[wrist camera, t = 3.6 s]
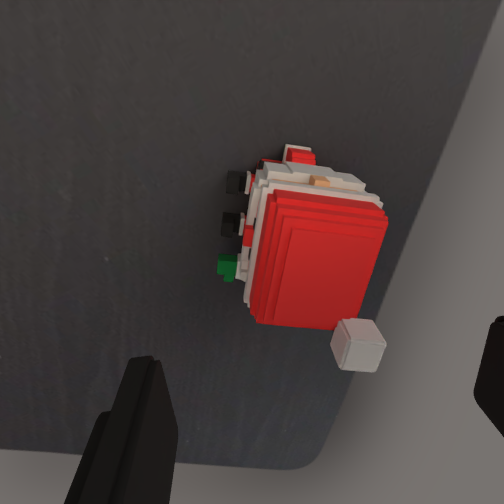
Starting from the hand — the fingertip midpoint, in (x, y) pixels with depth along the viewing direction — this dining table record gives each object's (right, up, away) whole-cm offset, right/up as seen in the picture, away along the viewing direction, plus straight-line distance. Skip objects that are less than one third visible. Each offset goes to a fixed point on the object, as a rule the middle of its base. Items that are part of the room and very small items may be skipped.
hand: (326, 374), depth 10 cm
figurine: (0, +7, +14) cm, 16 cm away
